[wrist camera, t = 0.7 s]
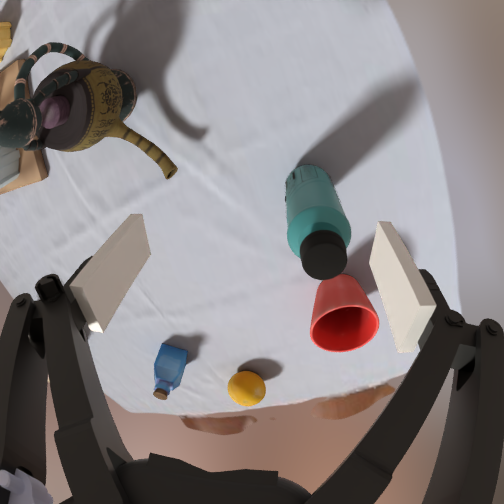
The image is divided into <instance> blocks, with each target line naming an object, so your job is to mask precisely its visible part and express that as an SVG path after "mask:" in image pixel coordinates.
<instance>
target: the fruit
mask: <svg viewBox="0 0 504 504" xmlns="http://www.w3.org/2000/svg"><path fill="white" fill-rule="evenodd" d="M228 392H229V395H230V397H231V398H232V399H233V400H234V401H235V402H236V403H238V404H240V405H242V406H253V405H255V404H257V403H259V402H260V401H261V400H262V399H263V398H264V396H265V393H266V387H265V384H264V381H263V380H262V379H261V377H260V376H258V375H257V374H255V373H253V372H251V371H242V372H239V373H236V374H235V375H233V376H232V377H231V379H230V380H229V383H228Z"/></svg>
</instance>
